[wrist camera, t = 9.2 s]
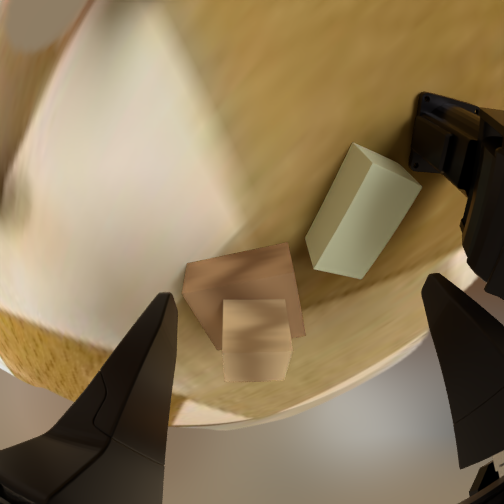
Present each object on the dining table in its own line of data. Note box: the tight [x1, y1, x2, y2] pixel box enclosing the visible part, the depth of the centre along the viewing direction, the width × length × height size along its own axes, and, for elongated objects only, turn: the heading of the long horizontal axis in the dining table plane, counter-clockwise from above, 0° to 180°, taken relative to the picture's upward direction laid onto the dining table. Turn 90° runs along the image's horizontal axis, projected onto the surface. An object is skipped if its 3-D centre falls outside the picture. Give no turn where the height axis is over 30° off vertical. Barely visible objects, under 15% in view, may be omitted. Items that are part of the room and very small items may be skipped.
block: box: [305, 142, 422, 279], centre depth 21 cm, size 4×9×4 cm, turn 162°
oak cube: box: [222, 299, 293, 382], centre depth 23 cm, size 5×5×5 cm
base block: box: [182, 242, 306, 350], centre depth 27 cm, size 9×9×4 cm
